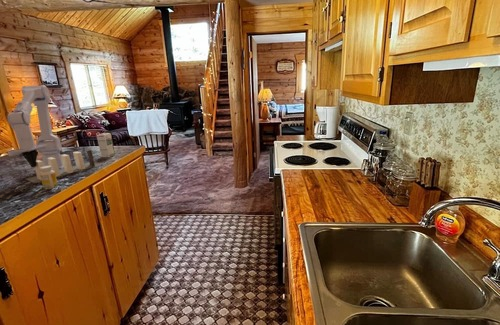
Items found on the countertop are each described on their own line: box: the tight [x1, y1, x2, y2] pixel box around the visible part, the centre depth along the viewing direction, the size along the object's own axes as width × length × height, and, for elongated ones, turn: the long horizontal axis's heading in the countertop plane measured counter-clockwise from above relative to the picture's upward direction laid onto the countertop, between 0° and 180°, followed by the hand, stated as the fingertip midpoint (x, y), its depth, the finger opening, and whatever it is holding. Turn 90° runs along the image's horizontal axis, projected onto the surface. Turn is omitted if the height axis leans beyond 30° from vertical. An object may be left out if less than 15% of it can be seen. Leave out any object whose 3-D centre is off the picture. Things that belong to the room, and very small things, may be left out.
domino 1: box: [34, 159, 44, 180], centre depth 127 cm, size 2×5×9 cm, turn 57°
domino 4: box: [72, 151, 86, 171], centre depth 141 cm, size 2×5×9 cm, turn 57°
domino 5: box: [85, 148, 96, 168], centre depth 146 cm, size 2×5×9 cm, turn 35°
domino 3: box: [60, 153, 74, 174], centre depth 137 cm, size 2×5×9 cm, turn 57°
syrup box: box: [96, 132, 116, 158], centre depth 165 cm, size 6×6×14 cm
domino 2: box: [47, 157, 62, 178], centre depth 132 cm, size 2×5×9 cm, turn 57°
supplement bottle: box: [40, 166, 59, 190], centre depth 118 cm, size 5×5×10 cm
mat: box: [25, 161, 105, 184], centre depth 140 cm, size 12×33×1 cm, turn 147°
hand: (33, 166), depth 125 cm, fingers closed
